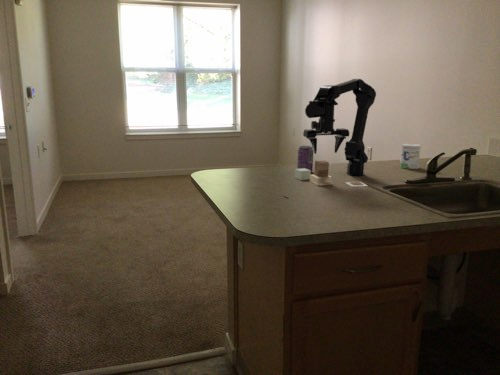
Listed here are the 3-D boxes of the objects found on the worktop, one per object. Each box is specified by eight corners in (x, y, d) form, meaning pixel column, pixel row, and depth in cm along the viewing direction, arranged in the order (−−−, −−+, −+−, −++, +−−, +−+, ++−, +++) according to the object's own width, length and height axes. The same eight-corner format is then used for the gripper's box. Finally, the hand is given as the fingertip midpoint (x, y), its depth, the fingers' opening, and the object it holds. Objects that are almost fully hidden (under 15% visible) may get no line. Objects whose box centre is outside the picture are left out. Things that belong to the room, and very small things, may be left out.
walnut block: (328, 176, 187) (328, 162, 185) (317, 176, 186) (318, 162, 184) (324, 174, 191) (325, 160, 190) (314, 174, 190) (315, 160, 189)
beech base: (324, 181, 193) (324, 173, 192) (331, 185, 187) (332, 177, 186) (309, 182, 191) (309, 174, 190) (316, 186, 185) (317, 177, 184)
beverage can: (312, 170, 213) (313, 145, 210) (312, 173, 206) (313, 148, 203) (297, 170, 214) (298, 145, 211) (297, 173, 207) (298, 147, 204)
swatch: (360, 182, 191) (360, 181, 191) (367, 186, 184) (367, 185, 184) (345, 182, 190) (345, 181, 189) (351, 186, 183) (352, 185, 183)
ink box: (417, 167, 225) (420, 144, 223) (418, 169, 221) (420, 145, 218) (399, 166, 228) (402, 143, 225) (400, 168, 223) (402, 144, 220)
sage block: (304, 176, 200) (304, 168, 199) (310, 179, 196) (310, 170, 195) (294, 177, 198) (295, 169, 197) (300, 180, 194) (300, 171, 193)
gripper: (340, 114, 196) (338, 149, 200) (299, 115, 192) (298, 150, 196) (350, 116, 185) (348, 153, 189) (308, 117, 182) (307, 155, 186)
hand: (325, 153), depth 191 cm, fingers open, 9 cm apart
